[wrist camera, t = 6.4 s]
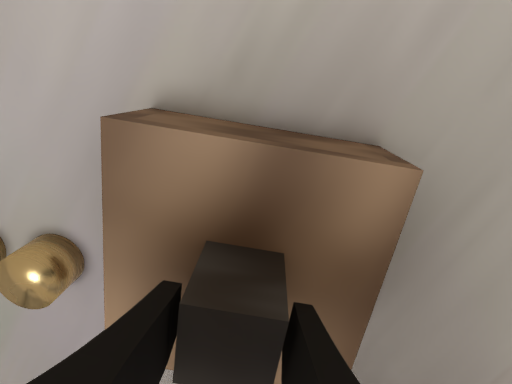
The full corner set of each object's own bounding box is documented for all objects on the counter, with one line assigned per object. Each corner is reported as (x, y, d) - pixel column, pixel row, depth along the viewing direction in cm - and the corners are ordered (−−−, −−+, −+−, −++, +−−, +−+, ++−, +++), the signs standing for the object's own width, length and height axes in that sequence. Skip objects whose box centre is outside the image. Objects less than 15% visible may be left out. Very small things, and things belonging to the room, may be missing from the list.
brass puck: (83, 238, 17) (54, 261, 14) (85, 285, 18) (58, 313, 16) (27, 229, 17) (-11, 251, 14) (33, 276, 18) (-2, 303, 16)
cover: (379, 146, 14) (497, 211, 7) (324, 325, 18) (363, 496, 10) (151, 108, 14) (14, 131, 7) (144, 296, 18) (52, 445, 10)
